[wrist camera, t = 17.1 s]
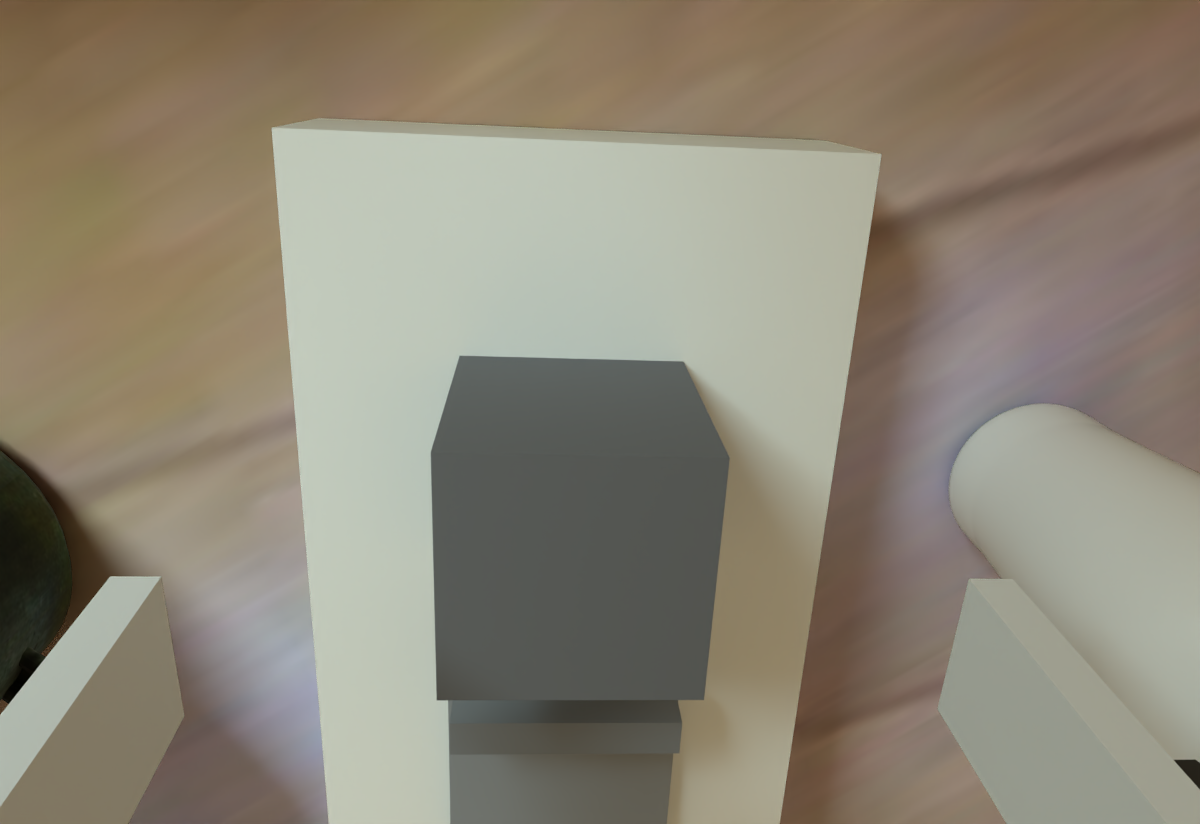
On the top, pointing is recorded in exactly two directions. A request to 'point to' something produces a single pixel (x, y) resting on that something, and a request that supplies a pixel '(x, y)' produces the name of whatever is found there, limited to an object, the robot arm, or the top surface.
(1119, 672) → the drinking glass
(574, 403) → the plug
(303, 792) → the top surface
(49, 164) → the top surface
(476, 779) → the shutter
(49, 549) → the mug
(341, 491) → the socket
